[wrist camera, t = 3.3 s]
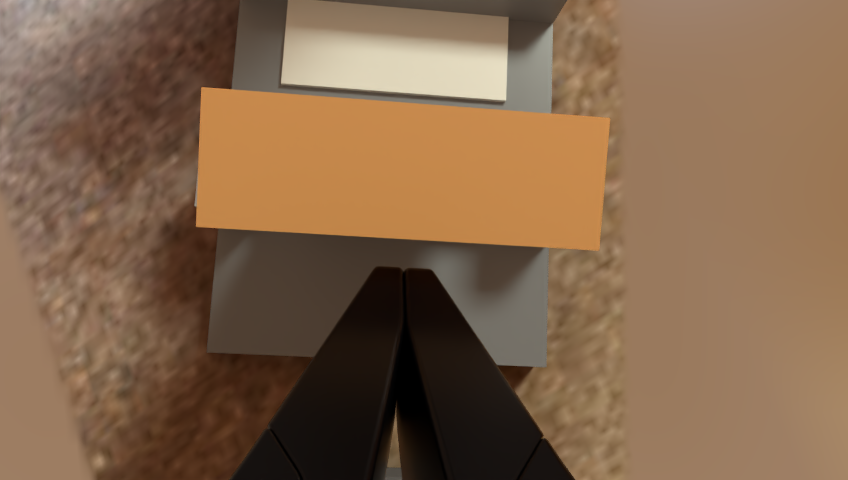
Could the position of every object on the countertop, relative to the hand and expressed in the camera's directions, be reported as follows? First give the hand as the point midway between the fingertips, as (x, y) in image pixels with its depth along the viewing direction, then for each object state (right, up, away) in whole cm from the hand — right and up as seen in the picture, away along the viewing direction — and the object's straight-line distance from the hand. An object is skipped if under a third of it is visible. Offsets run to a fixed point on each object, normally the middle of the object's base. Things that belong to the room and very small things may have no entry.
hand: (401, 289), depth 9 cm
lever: (-1, +2, +9) cm, 9 cm away
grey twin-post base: (-1, +3, +11) cm, 12 cm away
